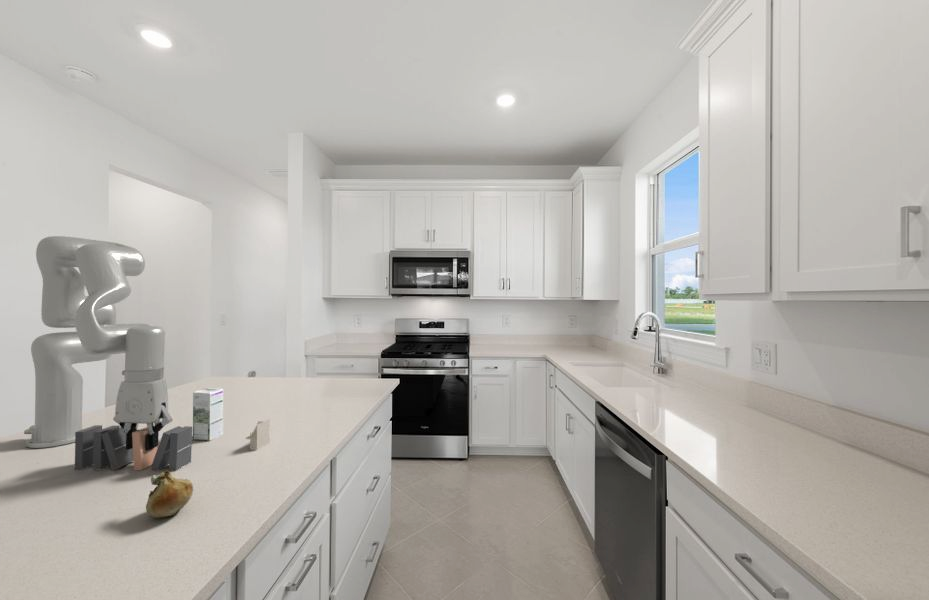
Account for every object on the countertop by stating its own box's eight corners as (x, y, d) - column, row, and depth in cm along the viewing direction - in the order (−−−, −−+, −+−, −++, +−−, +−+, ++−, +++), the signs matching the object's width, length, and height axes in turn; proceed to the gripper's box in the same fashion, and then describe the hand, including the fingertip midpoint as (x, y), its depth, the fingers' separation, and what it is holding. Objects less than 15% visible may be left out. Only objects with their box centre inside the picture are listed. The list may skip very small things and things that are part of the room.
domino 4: (134, 470, 93) (132, 432, 93) (151, 461, 98) (149, 426, 98) (141, 469, 93) (139, 432, 93) (158, 461, 98) (156, 425, 98)
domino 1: (74, 469, 93) (75, 431, 93) (94, 461, 98) (95, 425, 98) (82, 469, 93) (82, 432, 93) (101, 461, 98) (102, 425, 98)
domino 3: (112, 470, 93) (100, 434, 93) (130, 461, 98) (119, 427, 98) (119, 467, 93) (107, 432, 93) (137, 459, 98) (126, 425, 98)
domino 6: (168, 470, 93) (170, 433, 93) (183, 462, 98) (185, 426, 98) (176, 470, 93) (177, 433, 93) (190, 462, 98) (192, 426, 98)
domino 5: (150, 468, 93) (163, 432, 93) (166, 459, 98) (178, 426, 98) (157, 470, 93) (170, 435, 93) (173, 462, 98) (185, 428, 98)
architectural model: (245, 451, 106) (245, 424, 106) (261, 442, 113) (261, 417, 113) (256, 452, 106) (256, 425, 106) (271, 443, 113) (272, 417, 113)
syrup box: (223, 434, 118) (224, 387, 118) (209, 441, 112) (210, 392, 112) (206, 433, 118) (207, 387, 119) (191, 440, 113) (192, 391, 113)
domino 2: (93, 469, 93) (93, 432, 93) (112, 461, 98) (112, 425, 98) (100, 469, 93) (100, 432, 93) (119, 461, 98) (119, 425, 98)
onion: (136, 529, 69) (137, 485, 69) (152, 507, 76) (152, 467, 76) (186, 520, 72) (187, 478, 72) (197, 500, 79) (197, 462, 79)
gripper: (96, 377, 92) (94, 452, 92) (166, 380, 92) (163, 455, 92) (124, 371, 99) (122, 441, 99) (188, 373, 99) (186, 443, 99)
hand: (142, 447), depth 96 cm, fingers open, 4 cm apart
